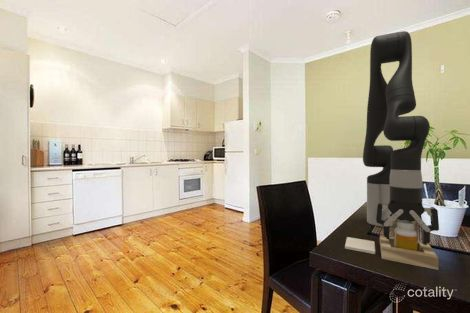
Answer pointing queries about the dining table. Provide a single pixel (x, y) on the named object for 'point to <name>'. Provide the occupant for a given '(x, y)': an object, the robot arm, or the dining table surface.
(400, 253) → the oak holder
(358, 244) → the cream tile
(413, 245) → the supplement bottle
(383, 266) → the dining table surface
